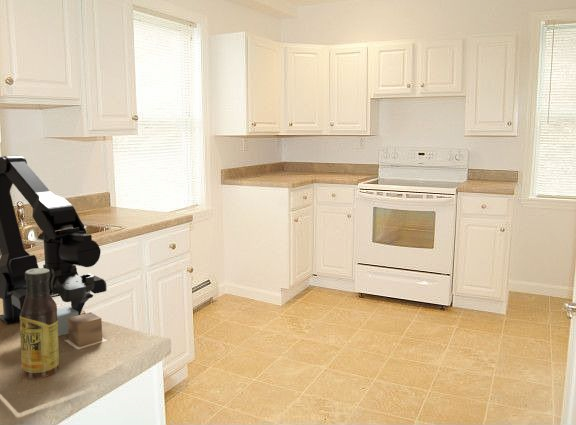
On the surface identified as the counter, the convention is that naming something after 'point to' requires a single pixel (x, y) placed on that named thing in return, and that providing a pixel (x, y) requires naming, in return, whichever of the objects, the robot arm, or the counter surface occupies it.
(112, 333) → the counter surface
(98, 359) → the counter surface
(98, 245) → the robot arm
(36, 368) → the sauce bottle
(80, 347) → the pad
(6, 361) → the counter surface
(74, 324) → the walnut block
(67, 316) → the bluegrey block
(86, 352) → the counter surface
